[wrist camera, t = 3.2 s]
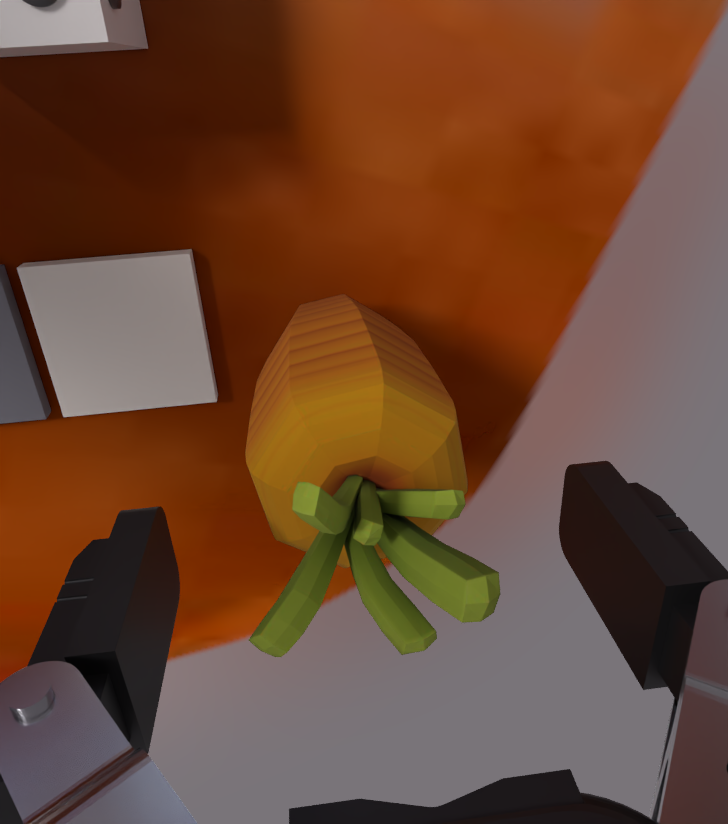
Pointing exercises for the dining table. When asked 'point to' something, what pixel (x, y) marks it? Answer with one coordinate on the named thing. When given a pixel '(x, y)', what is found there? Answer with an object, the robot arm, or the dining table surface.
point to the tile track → (106, 336)
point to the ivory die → (70, 26)
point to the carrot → (360, 474)
